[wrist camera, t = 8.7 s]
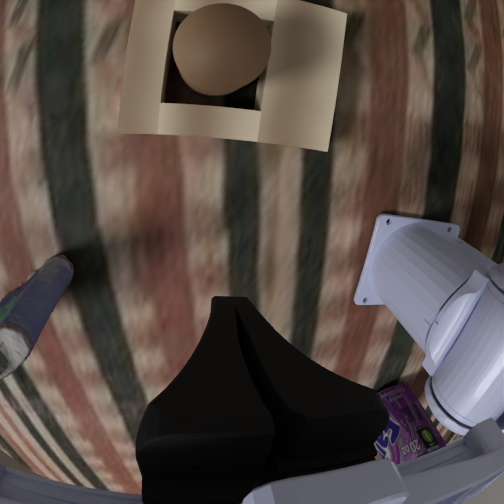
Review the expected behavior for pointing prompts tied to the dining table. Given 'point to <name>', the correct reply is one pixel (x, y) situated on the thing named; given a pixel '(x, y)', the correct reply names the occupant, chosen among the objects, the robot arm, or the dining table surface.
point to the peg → (221, 48)
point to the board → (269, 81)
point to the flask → (30, 311)
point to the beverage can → (406, 427)
